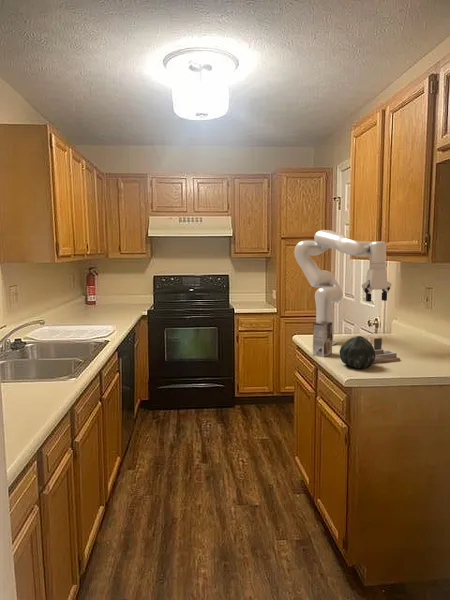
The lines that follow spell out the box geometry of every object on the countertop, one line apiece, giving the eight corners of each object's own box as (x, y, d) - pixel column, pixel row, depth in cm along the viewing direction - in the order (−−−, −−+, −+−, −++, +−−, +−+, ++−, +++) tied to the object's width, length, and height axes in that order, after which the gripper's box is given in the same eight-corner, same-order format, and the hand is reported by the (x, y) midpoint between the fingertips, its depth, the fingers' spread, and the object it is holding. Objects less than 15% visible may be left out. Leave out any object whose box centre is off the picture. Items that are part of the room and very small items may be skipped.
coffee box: (320, 352, 217) (321, 320, 215) (332, 353, 213) (333, 321, 211) (312, 355, 210) (312, 323, 208) (324, 357, 206) (324, 324, 204)
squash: (350, 348, 200) (343, 327, 191) (382, 354, 191) (376, 332, 182) (339, 372, 193) (331, 352, 184) (372, 379, 184) (365, 359, 175)
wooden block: (368, 351, 216) (368, 336, 215) (375, 351, 218) (376, 335, 217) (373, 353, 212) (374, 338, 211) (381, 352, 214) (382, 337, 213)
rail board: (353, 357, 204) (354, 345, 204) (380, 354, 210) (381, 342, 209) (372, 364, 192) (372, 350, 191) (400, 360, 198) (400, 347, 197)
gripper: (386, 266, 217) (385, 299, 219) (358, 266, 211) (357, 301, 213) (396, 266, 210) (395, 301, 212) (368, 267, 204) (367, 302, 206)
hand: (376, 300), depth 212 cm, fingers open, 9 cm apart
